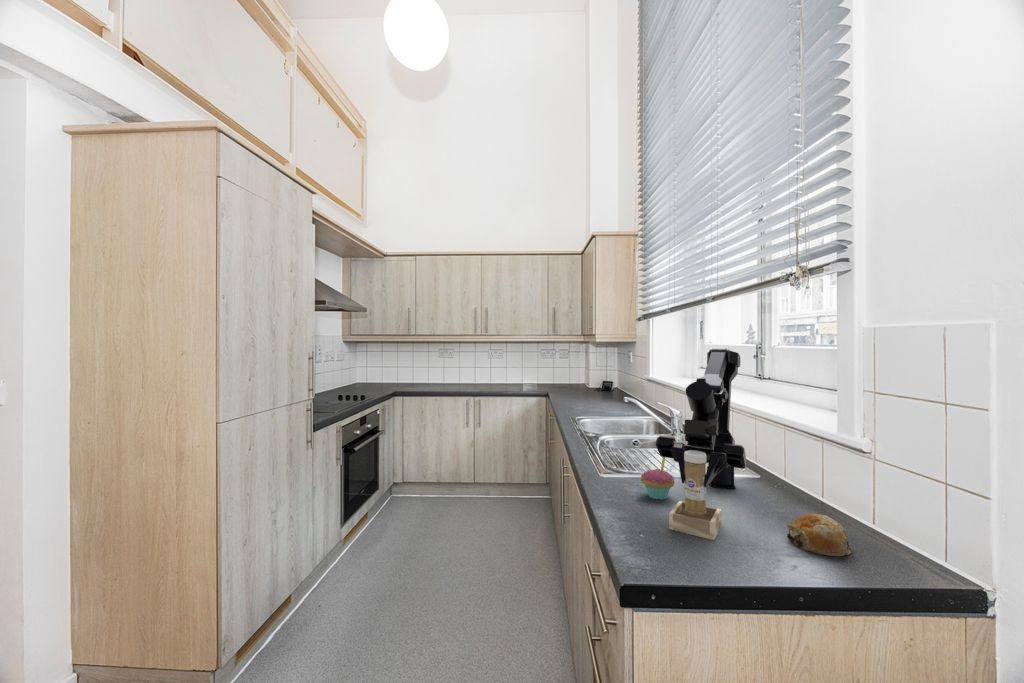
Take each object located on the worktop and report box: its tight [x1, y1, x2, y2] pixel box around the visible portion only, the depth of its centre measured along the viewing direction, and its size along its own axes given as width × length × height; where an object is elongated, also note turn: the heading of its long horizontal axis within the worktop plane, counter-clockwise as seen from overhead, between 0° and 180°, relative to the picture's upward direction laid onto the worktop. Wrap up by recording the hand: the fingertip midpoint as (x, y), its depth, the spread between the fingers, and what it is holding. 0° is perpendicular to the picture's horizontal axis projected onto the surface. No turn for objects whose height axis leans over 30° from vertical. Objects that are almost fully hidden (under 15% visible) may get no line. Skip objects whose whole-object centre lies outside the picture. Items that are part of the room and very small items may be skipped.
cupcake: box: [640, 457, 675, 500], centre depth 113 cm, size 9×8×12 cm
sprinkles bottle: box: [684, 450, 707, 516], centre depth 95 cm, size 5×5×14 cm
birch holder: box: [668, 500, 723, 541], centre depth 95 cm, size 9×9×4 cm
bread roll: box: [786, 513, 852, 557], centre depth 86 cm, size 10×10×8 cm
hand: (693, 484), depth 94 cm, fingers closed on sprinkles bottle, 4 cm apart
